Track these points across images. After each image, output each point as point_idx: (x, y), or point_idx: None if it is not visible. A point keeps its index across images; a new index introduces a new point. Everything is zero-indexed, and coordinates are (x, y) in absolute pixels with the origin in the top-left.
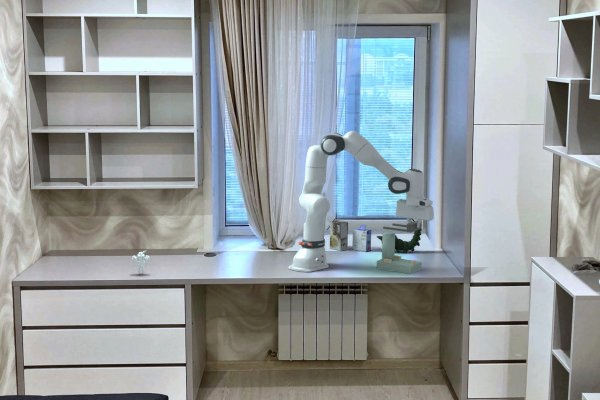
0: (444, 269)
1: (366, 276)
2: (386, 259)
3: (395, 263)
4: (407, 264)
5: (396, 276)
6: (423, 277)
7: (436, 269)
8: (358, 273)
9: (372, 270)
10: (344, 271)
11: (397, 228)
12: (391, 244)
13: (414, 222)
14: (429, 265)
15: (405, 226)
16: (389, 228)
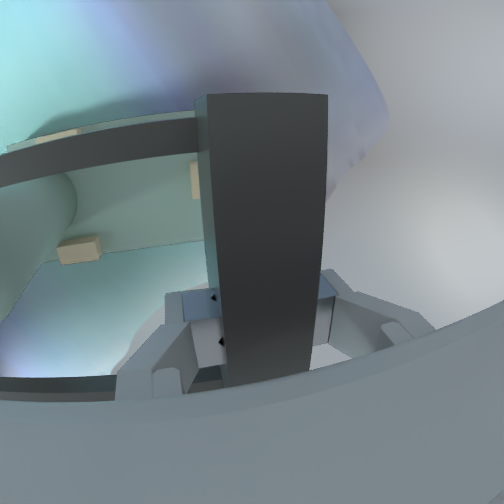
0: (303, 41)
1: (115, 360)
2: (75, 261)
3: (125, 240)
4: (185, 213)
5: None
6: None
7: (273, 61)
8: (68, 349)
9: (61, 287)
10: (26, 357)
11: (95, 398)
12: (42, 258)
13: (264, 328)
14: (205, 13)
15: (14, 182)
16: (25, 398)
